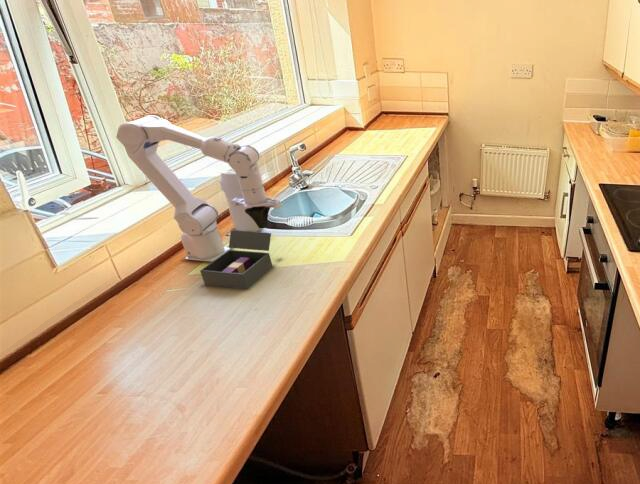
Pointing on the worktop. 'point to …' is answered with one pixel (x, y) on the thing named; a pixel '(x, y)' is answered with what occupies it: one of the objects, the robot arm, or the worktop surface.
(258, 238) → the flap
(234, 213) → the tall pale column
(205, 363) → the worktop surface
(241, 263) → the chocolate
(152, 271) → the worktop surface
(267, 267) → the carton
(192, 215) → the robot arm
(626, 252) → the worktop surface
